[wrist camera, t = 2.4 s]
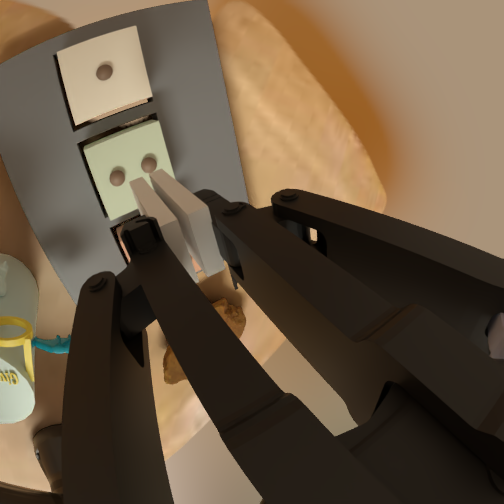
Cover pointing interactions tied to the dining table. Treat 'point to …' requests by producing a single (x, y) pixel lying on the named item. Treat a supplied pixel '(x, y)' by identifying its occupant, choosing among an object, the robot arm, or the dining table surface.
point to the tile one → (104, 74)
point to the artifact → (233, 320)
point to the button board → (67, 139)
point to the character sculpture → (19, 339)
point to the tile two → (126, 164)
